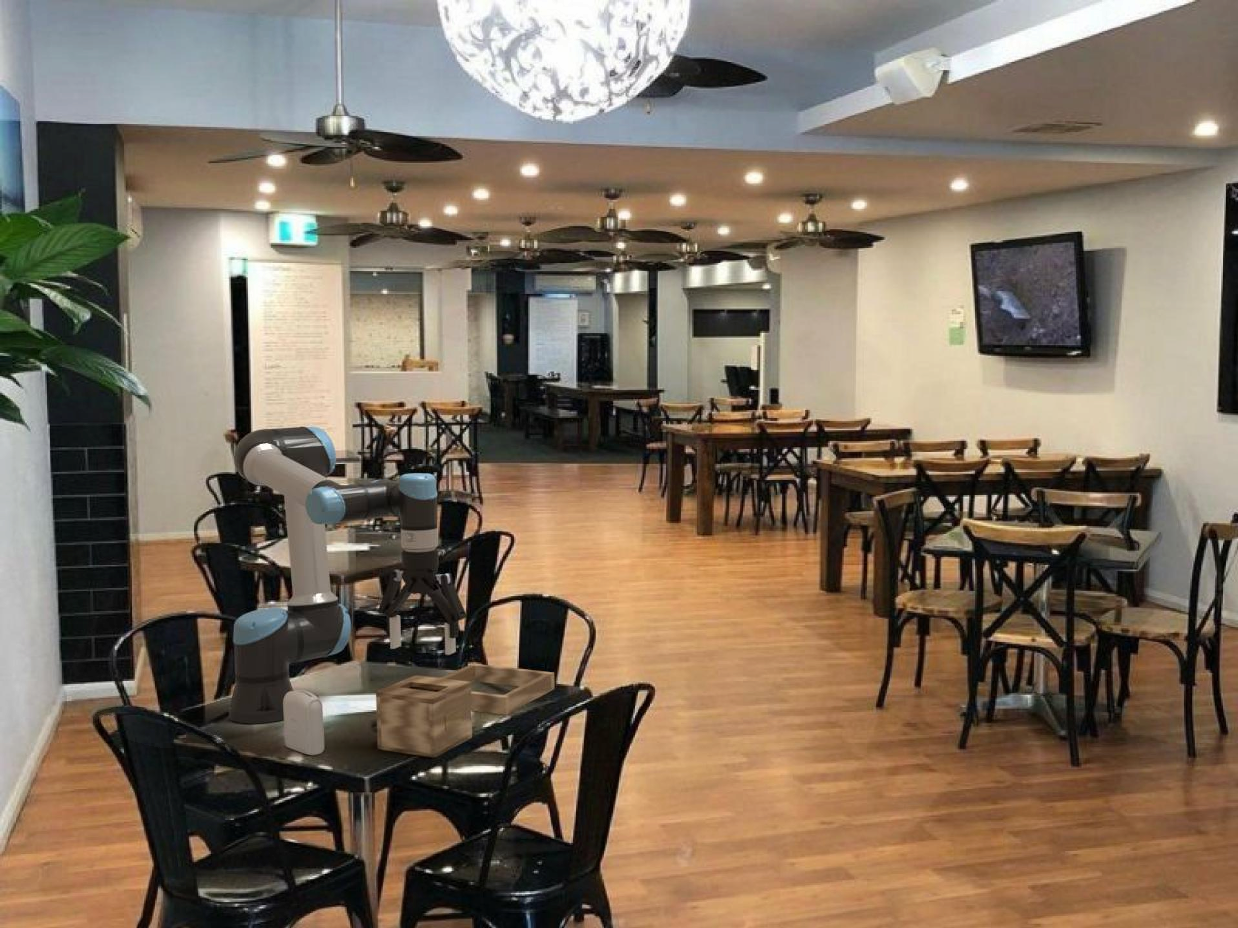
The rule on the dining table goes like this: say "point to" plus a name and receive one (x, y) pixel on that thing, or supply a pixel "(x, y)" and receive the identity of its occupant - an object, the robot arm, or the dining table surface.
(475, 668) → the frame
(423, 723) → the coin box
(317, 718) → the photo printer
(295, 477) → the robot arm
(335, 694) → the dining table surface
